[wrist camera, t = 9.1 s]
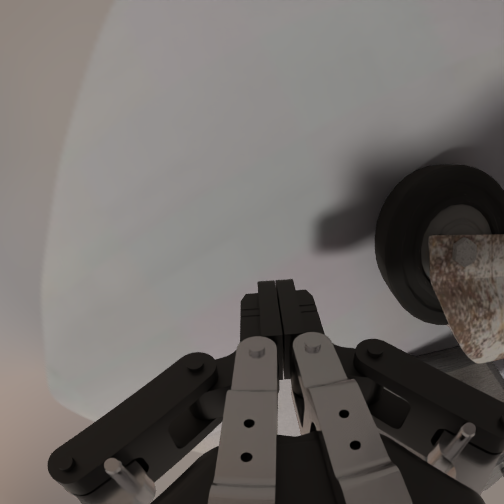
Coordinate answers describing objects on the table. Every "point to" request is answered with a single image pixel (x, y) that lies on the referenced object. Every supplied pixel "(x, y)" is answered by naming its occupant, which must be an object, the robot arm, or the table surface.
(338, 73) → the table surface
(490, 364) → the control box
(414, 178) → the caster wheel
